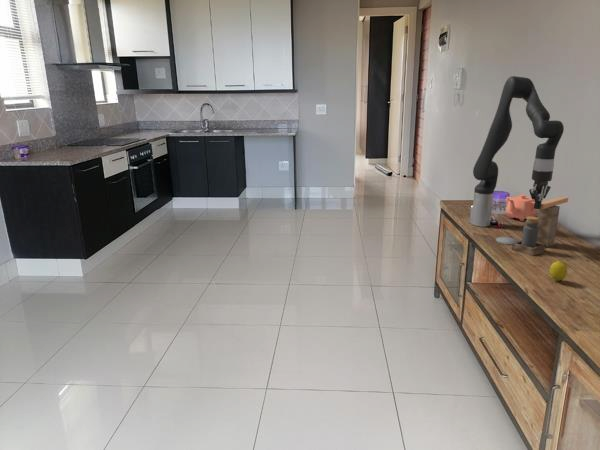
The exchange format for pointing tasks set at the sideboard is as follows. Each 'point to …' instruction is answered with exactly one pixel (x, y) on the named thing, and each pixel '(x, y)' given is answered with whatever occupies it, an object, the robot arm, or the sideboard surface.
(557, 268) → the lemon
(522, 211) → the teapot
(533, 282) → the sideboard surface
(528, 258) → the sideboard surface
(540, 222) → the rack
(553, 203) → the bar
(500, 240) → the mat
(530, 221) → the bottle
